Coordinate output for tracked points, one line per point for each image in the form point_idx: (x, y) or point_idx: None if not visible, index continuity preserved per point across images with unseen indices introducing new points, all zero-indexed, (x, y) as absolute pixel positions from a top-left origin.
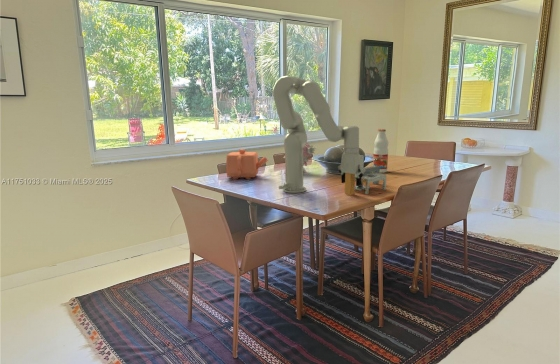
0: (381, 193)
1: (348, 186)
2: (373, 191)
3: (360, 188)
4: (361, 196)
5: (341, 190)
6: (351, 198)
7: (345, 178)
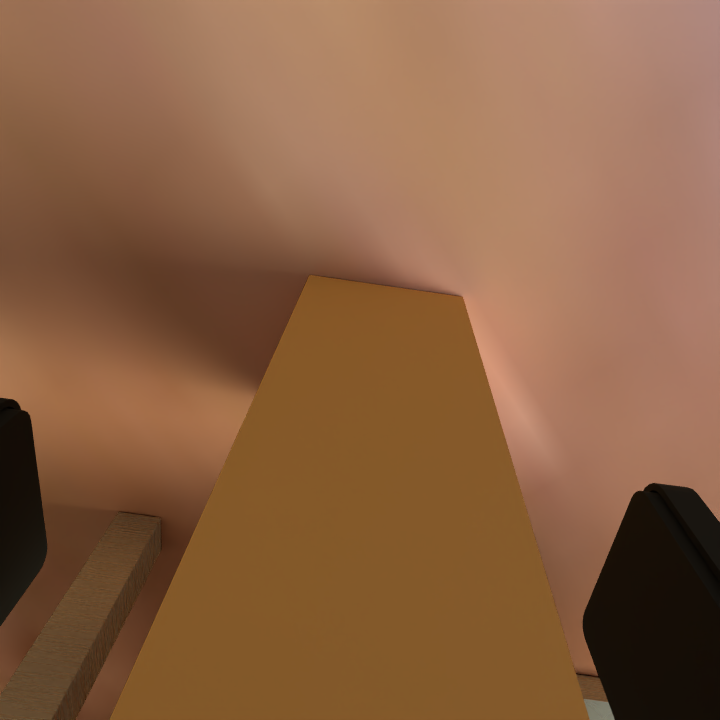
0: None
1: (347, 373)
2: None
3: None
4: (91, 348)
5: None
6: (112, 50)
7: (529, 580)
